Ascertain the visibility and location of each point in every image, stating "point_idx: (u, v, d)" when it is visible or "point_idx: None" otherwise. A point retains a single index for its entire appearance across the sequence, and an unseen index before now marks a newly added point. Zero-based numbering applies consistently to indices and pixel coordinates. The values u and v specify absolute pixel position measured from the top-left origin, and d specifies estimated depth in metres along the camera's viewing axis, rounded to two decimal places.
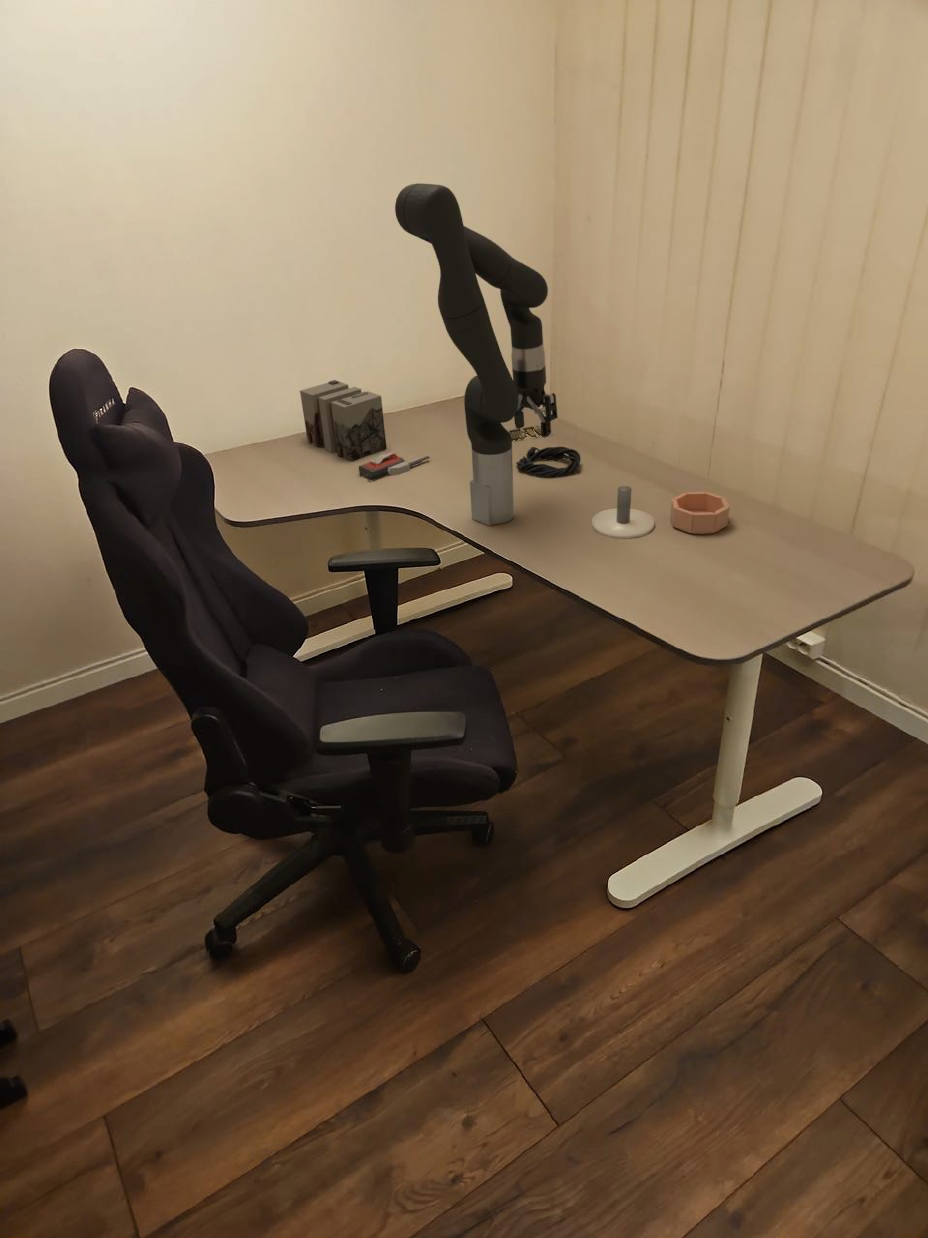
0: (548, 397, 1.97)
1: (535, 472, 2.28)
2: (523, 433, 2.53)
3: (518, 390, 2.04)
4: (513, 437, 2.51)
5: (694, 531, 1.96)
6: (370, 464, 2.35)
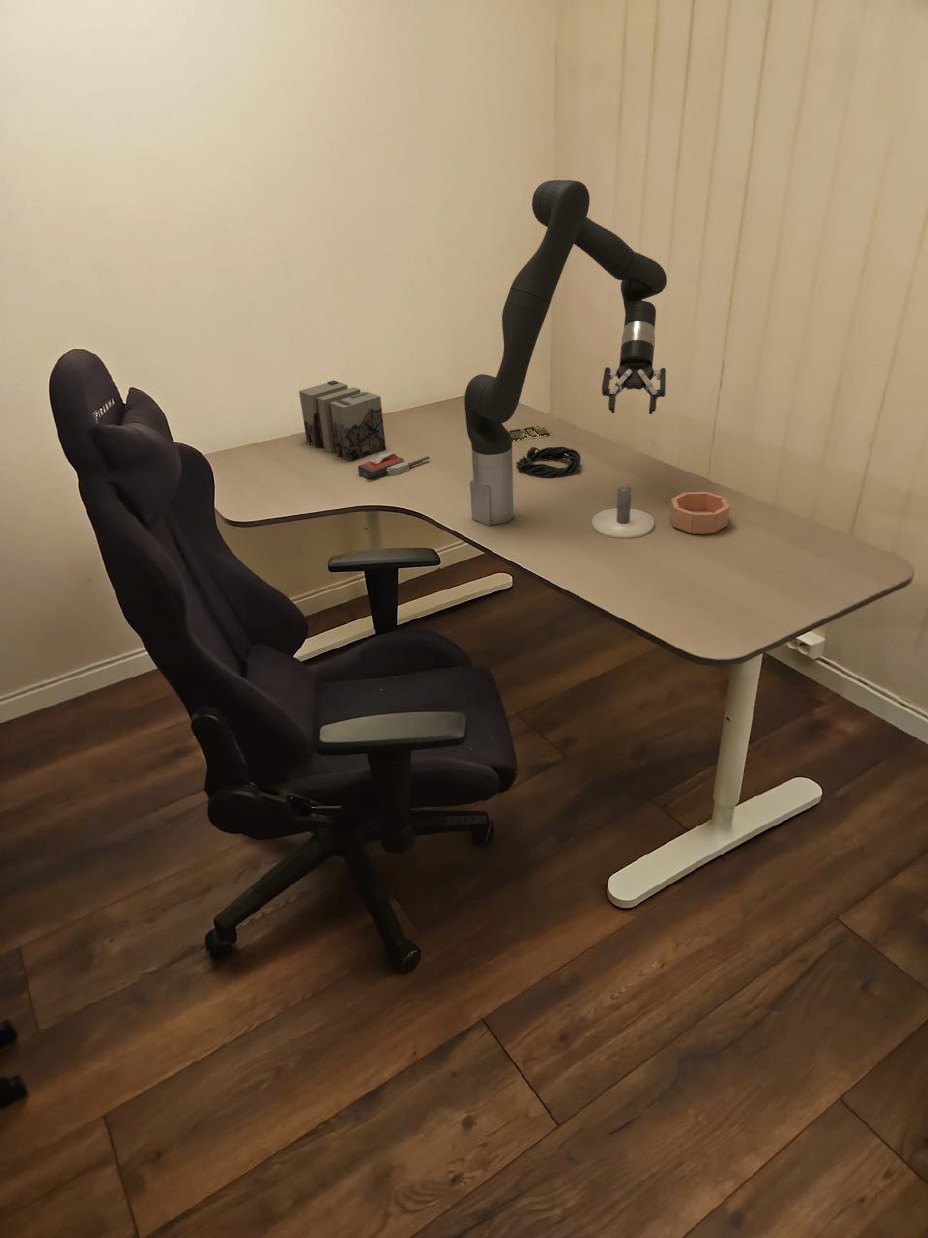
0: (665, 369, 2.00)
1: (535, 472, 2.28)
2: (523, 433, 2.53)
3: (622, 369, 2.02)
4: (513, 437, 2.51)
5: (694, 531, 1.96)
6: (369, 464, 2.35)
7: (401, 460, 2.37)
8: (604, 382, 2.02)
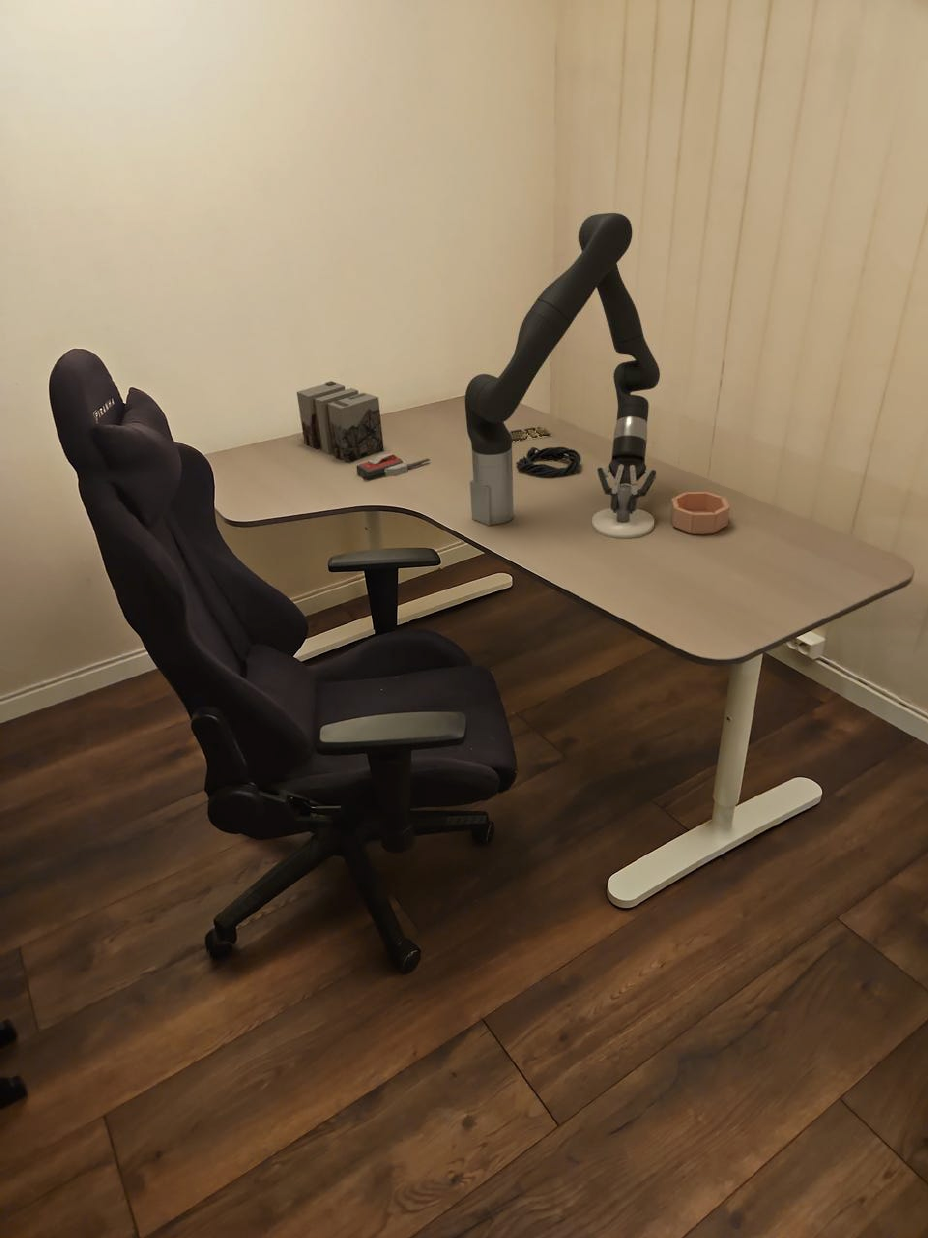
0: (655, 472, 1.98)
1: (535, 472, 2.28)
2: (524, 434, 2.52)
3: (614, 463, 2.00)
4: (514, 438, 2.50)
5: (694, 531, 1.96)
6: (368, 464, 2.35)
7: (400, 461, 2.36)
8: (603, 482, 2.00)
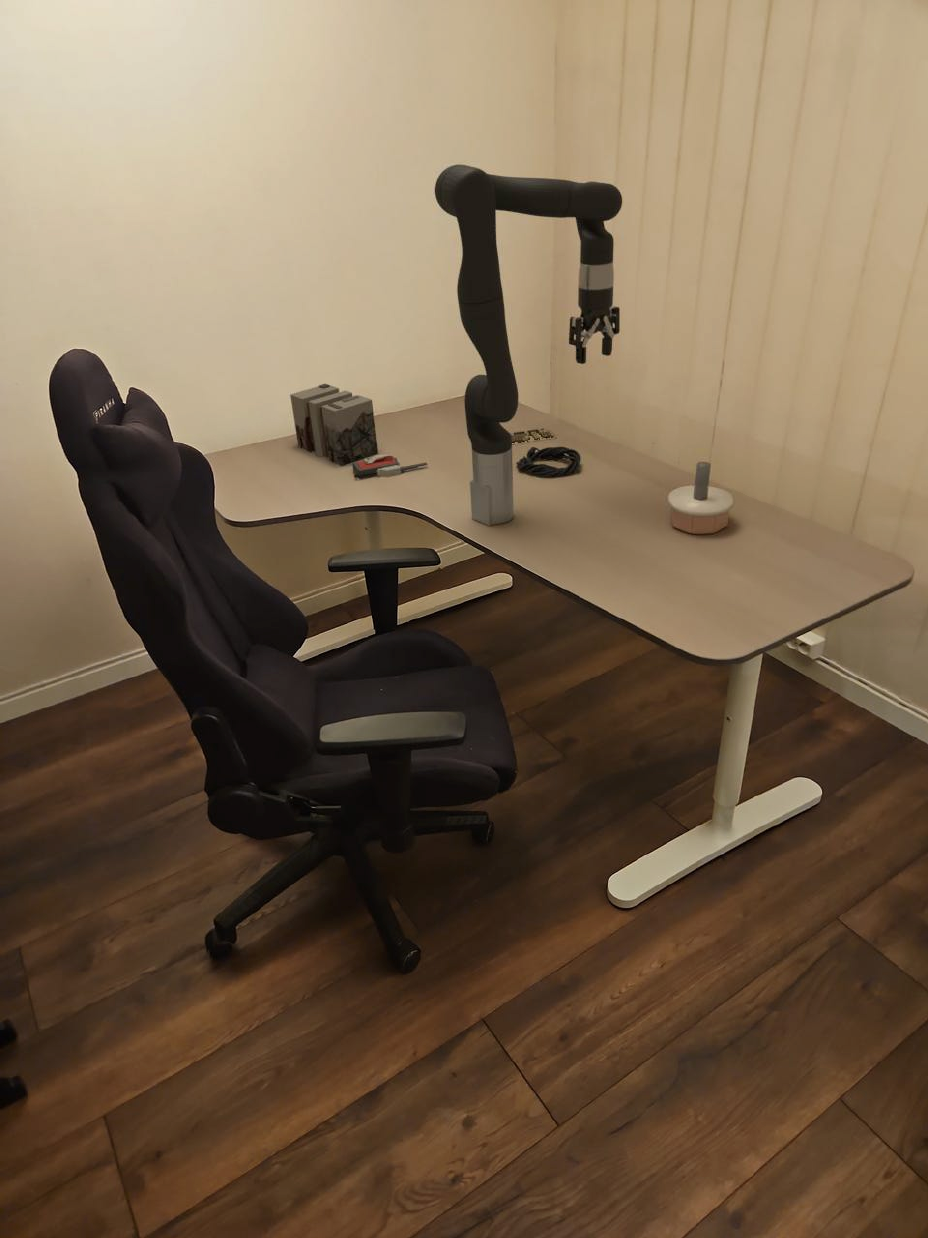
0: None
1: (535, 472, 2.28)
2: (527, 436, 2.51)
3: (590, 317, 1.93)
4: (516, 439, 2.49)
5: (694, 531, 1.96)
6: (363, 463, 2.36)
7: (395, 463, 2.35)
8: (578, 336, 1.93)
